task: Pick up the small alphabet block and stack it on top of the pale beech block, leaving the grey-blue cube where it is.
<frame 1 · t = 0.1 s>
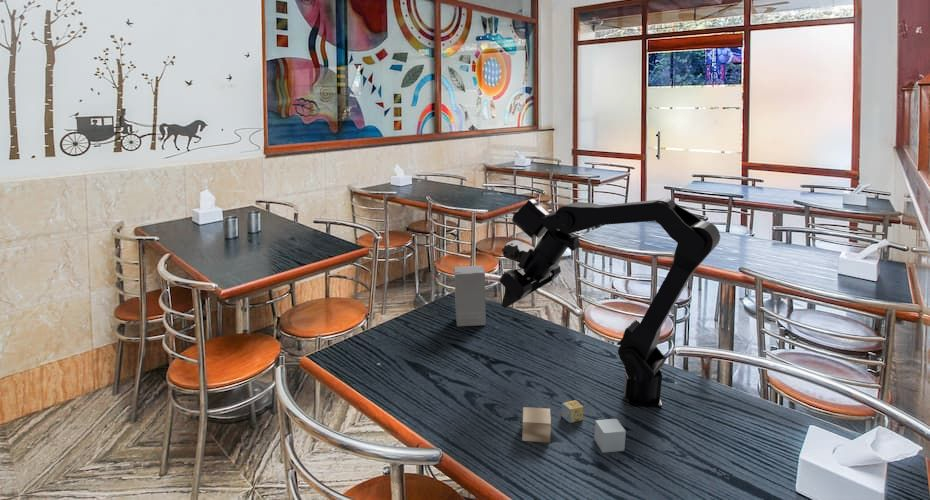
hand: (513, 300, 127), 15 cm above the table, tool tilted 35°, fingers open, 9 cm apart
alphabet block: (571, 419, 107), on the table
skincare box: (469, 323, 153), on the table
beech block: (536, 434, 102), on the table
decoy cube: (608, 445, 99), on the table
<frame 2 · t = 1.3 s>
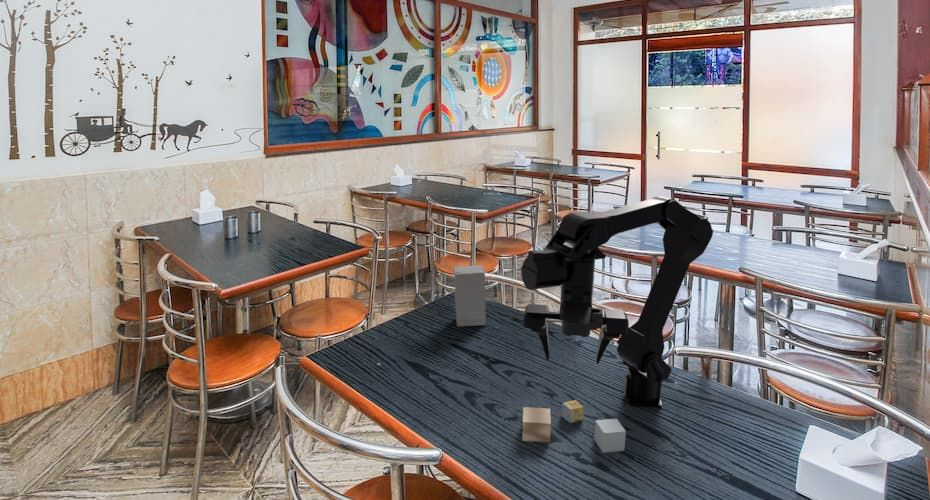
hand: (572, 360, 104), 12 cm above the table, tool pointing down, fingers open, 9 cm apart
nothing on the table moved.
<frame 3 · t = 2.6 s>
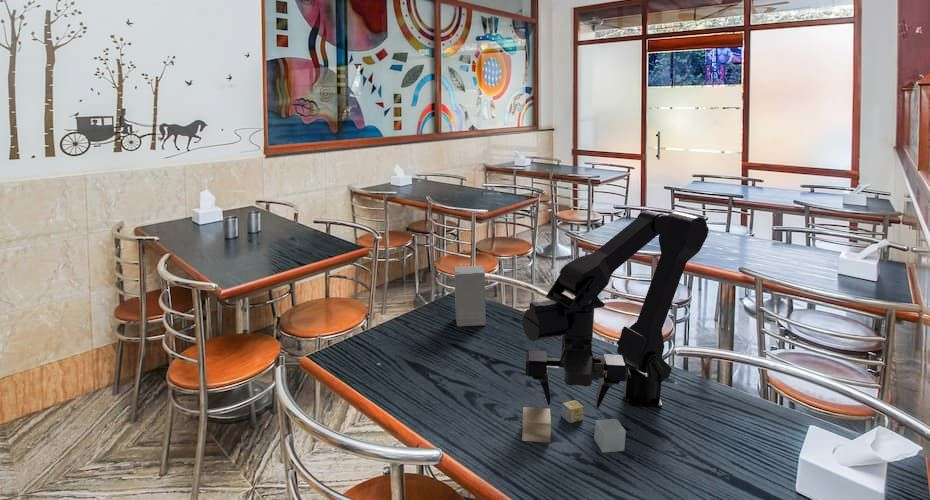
hand: (573, 405, 106), 3 cm above the table, tool pointing down, fingers open, 9 cm apart
nothing on the table moved.
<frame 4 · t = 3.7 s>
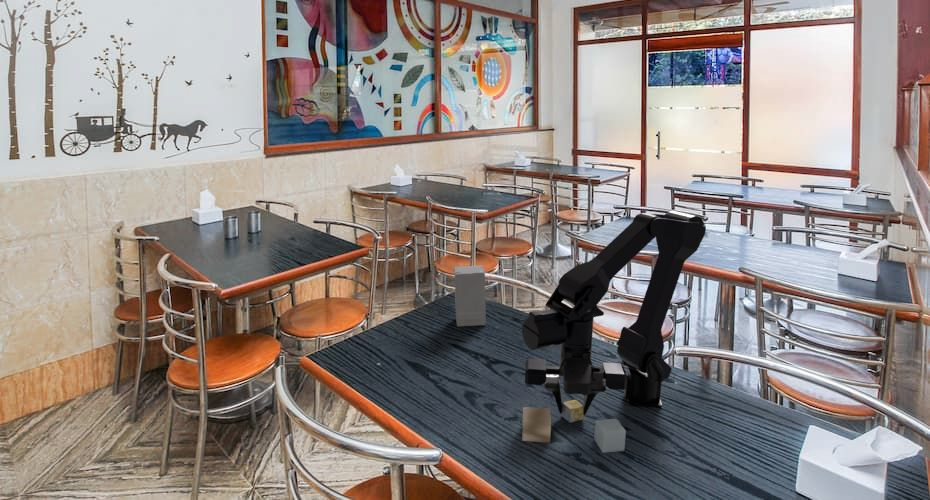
hand: (572, 413, 107), 1 cm above the table, tool pointing down, fingers closed on alphabet block, 4 cm apart
alphabet block: (572, 418, 107), on the table, touching gripper
everything else where it was.
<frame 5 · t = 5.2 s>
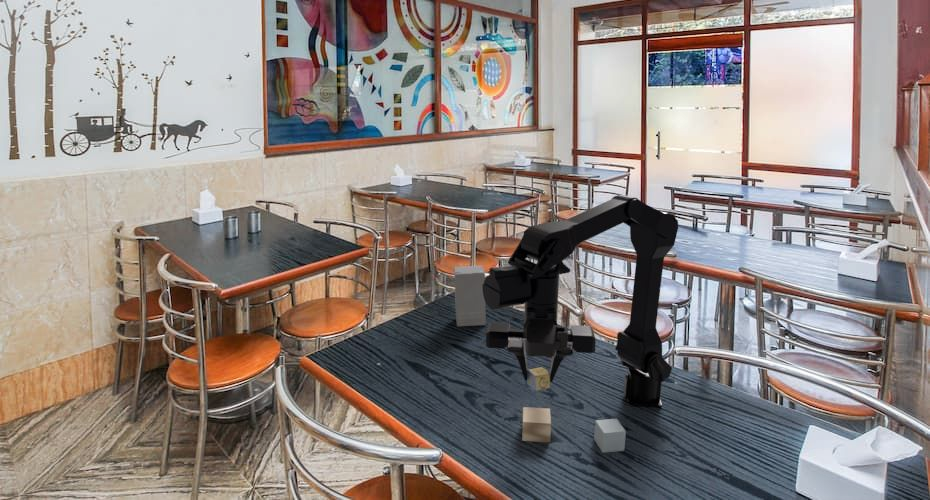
hand: (538, 380, 99), 11 cm above the table, tool pointing down, fingers closed on alphabet block, 4 cm apart
alphabet block: (538, 387, 100), point 9 cm above the table, touching gripper
everything else where it was.
when the fingers open (5 cm above the table, at t = 6.7 s): alphabet block stays where it is, resting on beech block.
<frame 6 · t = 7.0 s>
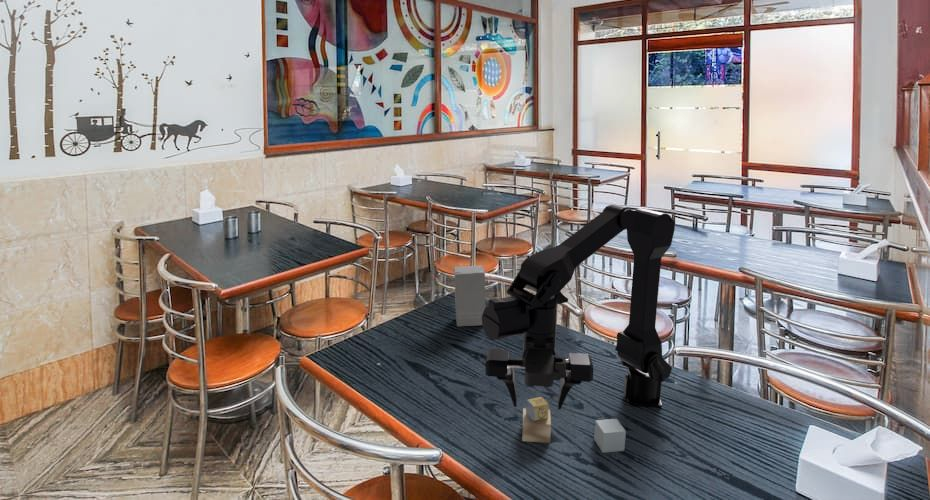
hand: (537, 406, 101), 5 cm above the table, tool pointing down, fingers open, 8 cm apart
alphabet block: (536, 417, 101), point 3 cm above the table, touching beech block
beech block: (536, 435, 102), on the table, touching alphabet block
everything else where it was.
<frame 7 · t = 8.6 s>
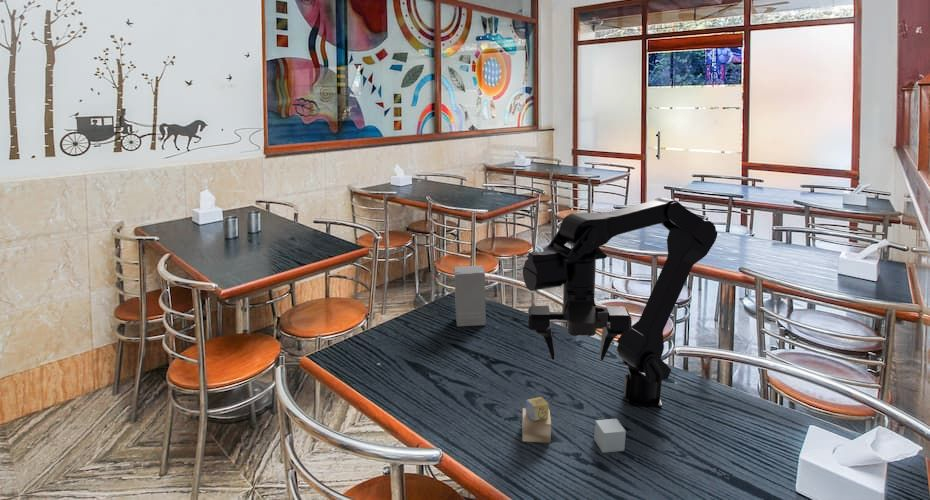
hand: (577, 359, 106), 12 cm above the table, tool pointing down, fingers open, 9 cm apart
nothing on the table moved.
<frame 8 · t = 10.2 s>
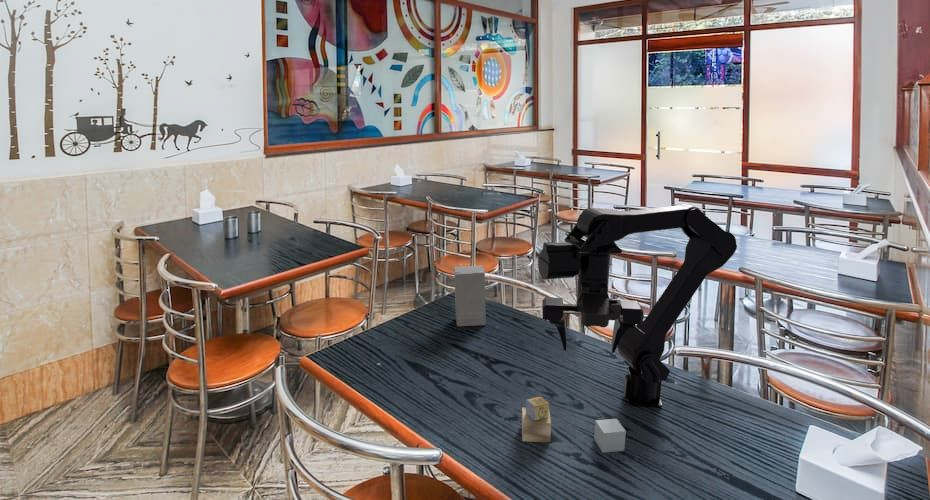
hand: (588, 351, 108), 12 cm above the table, tool pointing down, fingers open, 9 cm apart
nothing on the table moved.
at the end: alphabet block 0.1 cm off-centre on the beech block, point 3.8 cm above the beech block's base; alphabet block touching beech block; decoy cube moved 0.1 cm from its start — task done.
